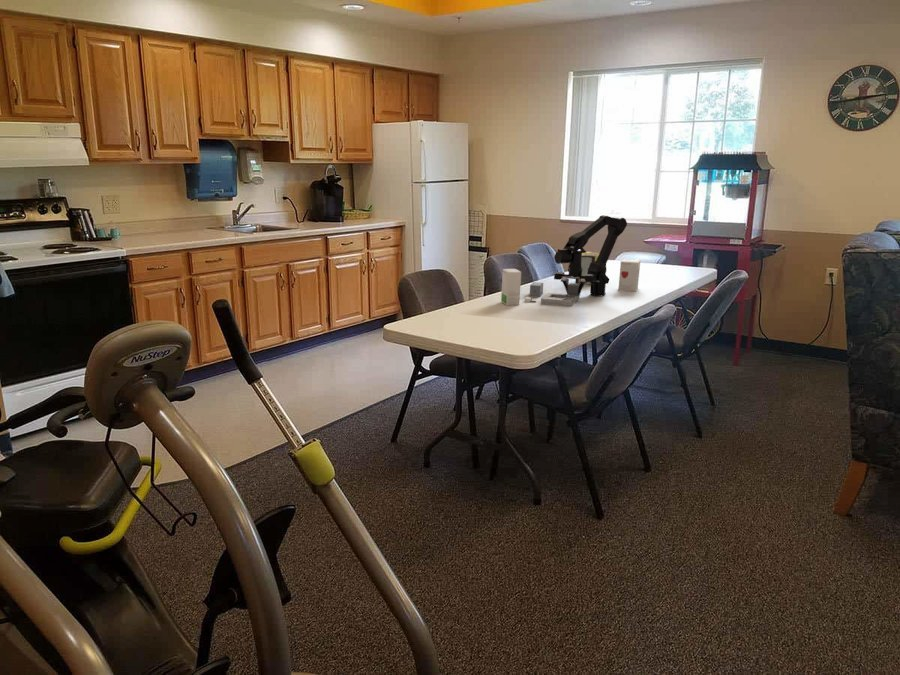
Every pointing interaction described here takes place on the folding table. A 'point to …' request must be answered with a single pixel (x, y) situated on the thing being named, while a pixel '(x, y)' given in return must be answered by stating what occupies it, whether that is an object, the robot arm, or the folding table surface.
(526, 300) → the cable plug
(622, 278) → the supplement box
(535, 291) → the block
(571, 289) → the grey block
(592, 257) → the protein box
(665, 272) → the folding table surface
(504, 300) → the skincare box
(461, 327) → the folding table surface
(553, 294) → the outlet plate
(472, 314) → the folding table surface
